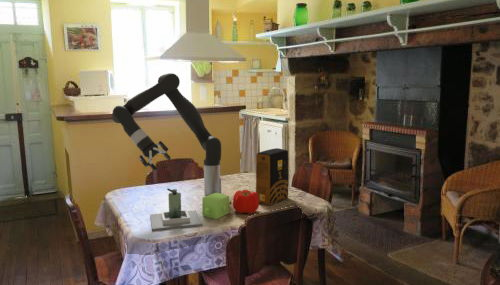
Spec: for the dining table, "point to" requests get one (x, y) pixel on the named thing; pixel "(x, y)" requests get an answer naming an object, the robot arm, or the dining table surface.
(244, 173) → the dining table surface
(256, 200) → the tomato
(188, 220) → the pad
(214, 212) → the gearbox
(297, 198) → the dining table surface
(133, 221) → the dining table surface
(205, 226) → the dining table surface
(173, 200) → the spout can
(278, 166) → the black and gold box
